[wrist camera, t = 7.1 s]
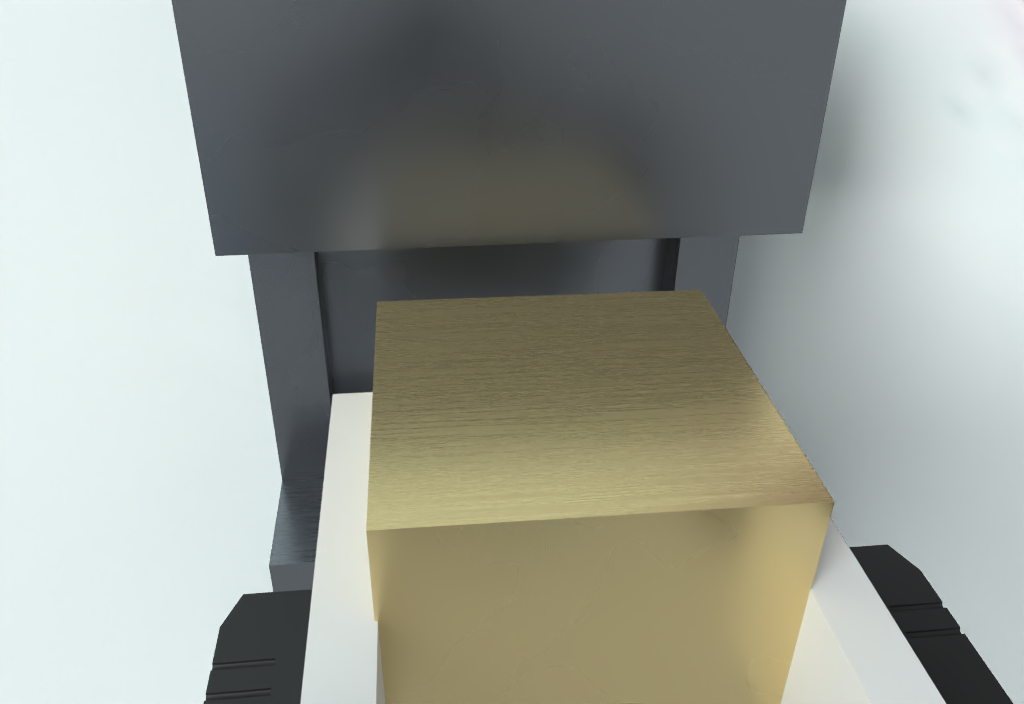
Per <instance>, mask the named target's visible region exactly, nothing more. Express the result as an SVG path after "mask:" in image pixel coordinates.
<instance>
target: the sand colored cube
mask: <svg viewBox="0 0 1024 704" xmlns="http://www.w3.org/2000/svg"><path fill="white" fill-rule="evenodd" d="M833 505H834V501H833V499H832V497H831V496H830V494H829V493H828V491H827V489H826V488H825V486H824V485H823V483H822V481H821V480H820V478H819V477H818V475H817V473H816V472H815V470H814V469H813V467H812V465H811V464H810V462H809V461H808V459H807V457H806V456H805V454H804V453H803V451H802V449H801V448H800V446H799V445H798V443H797V441H796V440H795V438H794V437H793V435H792V434H791V432H790V430H789V429H788V427H787V426H786V424H785V422H784V421H783V419H782V418H781V416H780V414H779V413H778V411H777V410H776V408H775V406H774V405H773V403H772V402H771V400H770V398H769V397H768V395H767V394H766V392H765V390H764V389H763V387H762V386H761V384H760V382H759V381H758V379H757V378H756V376H755V374H754V373H753V371H752V370H751V368H750V366H749V365H748V363H747V362H746V360H745V358H744V357H743V355H742V354H741V352H740V351H739V349H738V347H737V346H736V344H735V343H734V341H733V339H732V338H731V336H730V335H729V333H728V331H727V330H726V328H725V327H724V325H723V323H722V322H721V320H720V319H719V317H718V315H717V314H716V312H715V311H714V309H713V307H712V306H711V304H710V303H709V301H708V299H707V298H706V296H705V295H704V293H703V291H702V290H680V291H653V292H625V293H598V294H571V295H543V296H516V297H489V298H461V299H434V300H407V301H379V302H377V313H376V334H375V355H374V376H373V397H372V418H371V438H370V459H369V480H368V501H367V522H366V535H367V546H368V557H369V567H370V578H371V589H372V599H373V610H374V621H378V629H379V640H380V651H381V661H382V672H383V683H384V693H385V704H781V700H782V697H783V693H784V689H785V685H786V681H787V677H788V674H789V670H790V666H791V662H792V658H793V654H794V651H795V647H796V643H797V639H798V635H799V631H800V627H801V624H802V620H803V616H804V612H805V608H806V604H807V601H808V597H809V593H810V589H811V588H812V584H813V581H814V577H815V573H816V569H817V565H818V562H819V558H820V554H821V550H822V547H823V543H824V539H825V535H826V531H827V528H828V524H829V520H830V516H831V512H832V509H833Z"/></svg>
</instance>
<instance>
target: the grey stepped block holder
mask: <svg viewBox="0 0 1024 704" xmlns="http://www.w3.org/2000/svg"><path fill="white" fill-rule="evenodd" d="M172 5H173V11H174V17H175V23H176V28H177V34H178V40H179V46H180V52H181V58H182V63H183V69H184V75H185V81H186V87H187V92H188V98H189V104H190V110H191V116H192V121H193V127H194V133H195V139H196V145H197V150H198V156H199V162H200V168H201V174H202V179H203V185H204V191H205V197H206V203H207V208H208V214H209V220H210V226H211V232H212V237H213V243H214V249H215V255H216V256H224V255H248V257H249V264H250V270H251V277H252V283H253V290H254V297H255V303H256V310H257V316H258V323H259V330H260V336H261V343H262V349H263V356H264V362H265V369H266V376H267V382H268V389H269V395H270V402H271V409H272V415H273V422H274V428H275V435H276V441H277V448H278V455H279V461H280V468H281V474H282V486H281V493H280V499H279V506H278V512H277V518H276V525H275V531H274V537H273V544H272V550H271V556H270V563H269V568H270V574H271V580H272V586H273V592H282V591H295V590H309V589H312V588H313V578H314V569H315V559H316V550H317V540H318V530H319V521H320V511H321V502H322V492H323V483H324V473H325V464H326V454H327V444H328V435H329V425H330V416H331V406H332V397H333V394H346V393H365V392H373V376H374V355H375V334H376V313H377V302H379V301H407V300H434V299H461V298H489V297H516V296H543V295H571V294H598V293H625V292H653V291H680V290H702V291H703V293H704V295H705V296H706V298H707V299H708V301H709V303H710V304H711V306H712V307H713V309H714V311H715V312H716V314H717V315H718V317H719V319H720V320H721V322H722V323H723V325H724V327H726V321H727V314H728V307H729V301H730V294H731V288H732V281H733V275H734V268H735V262H736V255H737V248H738V242H739V235H765V234H791V233H802V231H803V226H804V220H805V215H806V210H807V205H808V199H809V194H810V189H811V184H812V178H813V173H814V168H815V163H816V157H817V152H818V147H819V142H820V136H821V131H822V126H823V121H824V115H825V110H826V105H827V100H828V94H829V89H830V84H831V79H832V73H833V68H834V63H835V58H836V52H837V47H838V42H839V37H840V31H841V26H842V21H843V16H844V10H845V5H846V0H172Z"/></svg>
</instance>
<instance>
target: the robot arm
mask: <svg viewBox="0 0 1024 704" xmlns="http://www.w3.org/2000/svg"><path fill="white" fill-rule="evenodd" d="M372 397H373V392H365V393H346V394H333V397H332V406H331V416H330V425H329V435H328V444H327V454H326V464H325V473H324V483H323V492H322V502H321V511H320V521H319V530H318V540H317V550H316V559H315V569H314V578H313V588H312V589H309V590H295V591H282V592H268V593H255V594H243V596H242V597H241V598H240V600H239V601H238V603H237V604H236V605H235V607H234V608H233V610H232V611H231V612H230V614H229V615H228V617H227V618H226V619H225V621H224V622H223V624H222V625H221V626H220V630H219V634H218V639H217V644H216V649H215V653H214V658H213V663H212V665H213V668H212V670H211V672H210V677H209V681H208V686H207V691H206V701H204V704H385V693H384V683H383V672H382V661H381V651H380V640H379V629H378V621H374V610H373V599H372V589H371V578H370V567H369V557H368V546H367V535H366V522H367V501H368V480H369V459H370V438H371V418H372ZM781 704H1013V703H1012V701H1011V700H1010V698H1009V697H1008V695H1007V694H1006V693H1005V691H1004V690H1003V688H1002V687H1001V685H1000V684H999V683H998V681H997V680H996V678H995V677H994V675H993V674H992V672H991V671H990V670H989V668H988V667H987V665H986V664H985V662H984V661H983V660H982V658H981V657H980V655H979V654H978V652H977V651H976V649H975V648H974V647H973V645H972V644H971V642H970V641H969V639H968V638H967V637H966V635H965V634H961V632H960V626H959V625H958V624H957V622H956V621H955V619H954V618H953V616H952V615H951V614H950V612H949V611H948V609H947V608H943V606H942V601H941V599H940V598H939V596H938V595H937V593H936V592H935V591H934V589H933V588H932V586H931V585H930V583H929V582H928V581H927V579H926V578H925V576H924V575H923V573H922V572H921V571H920V570H919V569H918V568H917V567H915V566H914V565H913V564H912V563H910V562H909V561H908V560H906V559H905V558H904V557H903V556H901V555H900V554H899V553H898V552H896V551H895V550H894V549H892V548H891V547H890V546H889V545H875V546H862V547H849V546H848V545H847V543H846V542H845V540H844V538H843V537H842V535H841V533H840V532H839V530H838V529H837V527H836V525H835V524H834V522H833V521H832V519H831V517H830V520H829V524H828V528H827V531H826V535H825V539H824V543H823V547H822V550H821V554H820V558H819V562H818V565H817V569H816V573H815V577H814V581H813V584H812V588H811V589H810V593H809V597H808V601H807V604H806V608H805V612H804V616H803V620H802V624H801V627H800V631H799V635H798V639H797V643H796V647H795V651H794V654H793V658H792V662H791V666H790V670H789V674H788V677H787V681H786V685H785V689H784V693H783V697H782V700H781Z"/></svg>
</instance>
